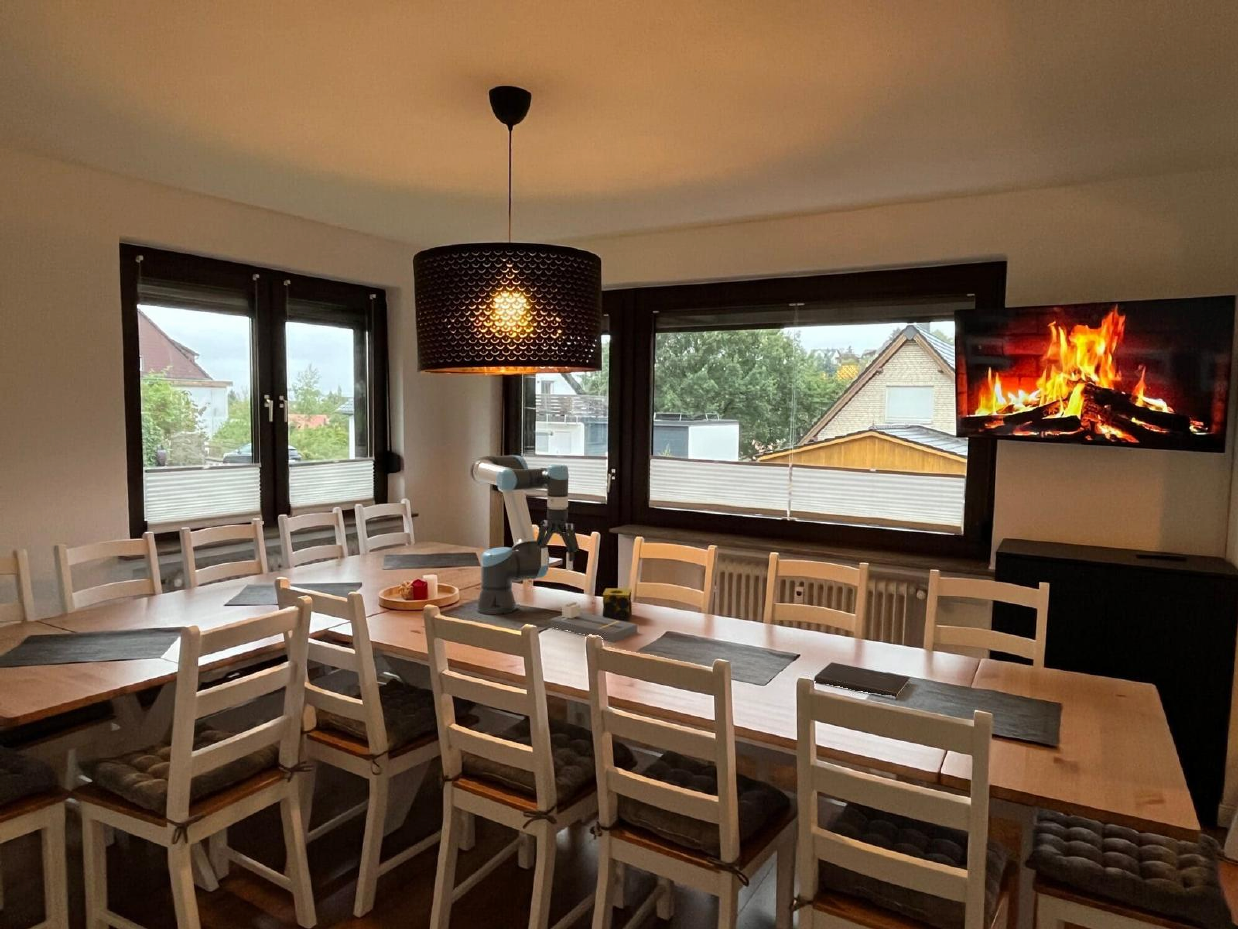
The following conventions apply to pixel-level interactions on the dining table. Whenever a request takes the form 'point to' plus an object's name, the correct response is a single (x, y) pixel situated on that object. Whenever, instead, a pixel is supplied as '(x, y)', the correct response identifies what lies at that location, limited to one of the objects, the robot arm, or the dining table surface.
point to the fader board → (595, 626)
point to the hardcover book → (861, 679)
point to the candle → (617, 604)
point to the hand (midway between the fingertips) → (556, 567)
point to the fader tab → (571, 610)
